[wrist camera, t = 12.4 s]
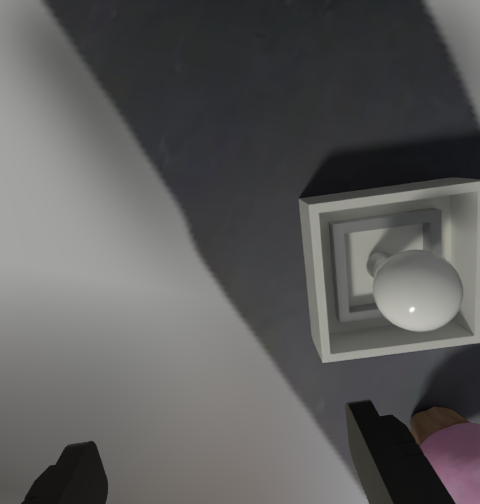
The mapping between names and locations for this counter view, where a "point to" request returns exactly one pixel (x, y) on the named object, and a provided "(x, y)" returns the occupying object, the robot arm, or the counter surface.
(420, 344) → the walled box
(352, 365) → the counter surface
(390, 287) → the lightbulb
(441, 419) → the cupcake
